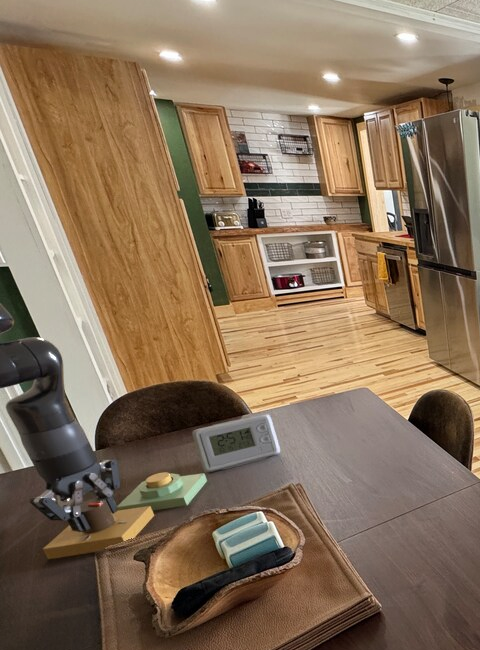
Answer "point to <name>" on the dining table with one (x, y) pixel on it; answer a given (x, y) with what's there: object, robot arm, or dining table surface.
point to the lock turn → (97, 514)
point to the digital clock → (236, 442)
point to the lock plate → (100, 534)
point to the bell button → (158, 480)
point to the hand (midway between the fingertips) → (97, 521)
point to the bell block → (165, 493)
